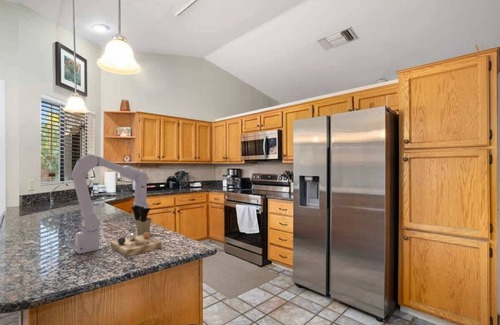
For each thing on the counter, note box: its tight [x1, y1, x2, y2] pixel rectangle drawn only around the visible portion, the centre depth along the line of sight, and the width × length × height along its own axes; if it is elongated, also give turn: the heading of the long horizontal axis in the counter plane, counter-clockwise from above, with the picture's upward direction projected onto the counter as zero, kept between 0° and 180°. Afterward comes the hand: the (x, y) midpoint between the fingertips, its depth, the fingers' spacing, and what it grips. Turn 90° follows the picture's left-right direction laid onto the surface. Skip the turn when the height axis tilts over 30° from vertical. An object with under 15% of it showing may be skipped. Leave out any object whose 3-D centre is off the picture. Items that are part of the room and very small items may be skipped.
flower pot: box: [134, 217, 153, 236], centre depth 145 cm, size 9×9×9 cm
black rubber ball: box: [117, 236, 125, 244], centre depth 119 cm, size 3×3×3 cm
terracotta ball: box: [143, 232, 151, 239], centre depth 128 cm, size 3×3×3 cm
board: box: [110, 235, 162, 257], centre depth 122 cm, size 16×20×2 cm
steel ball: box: [128, 233, 137, 240], centre depth 125 cm, size 3×3×3 cm
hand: (140, 220), depth 135 cm, fingers open, 7 cm apart
